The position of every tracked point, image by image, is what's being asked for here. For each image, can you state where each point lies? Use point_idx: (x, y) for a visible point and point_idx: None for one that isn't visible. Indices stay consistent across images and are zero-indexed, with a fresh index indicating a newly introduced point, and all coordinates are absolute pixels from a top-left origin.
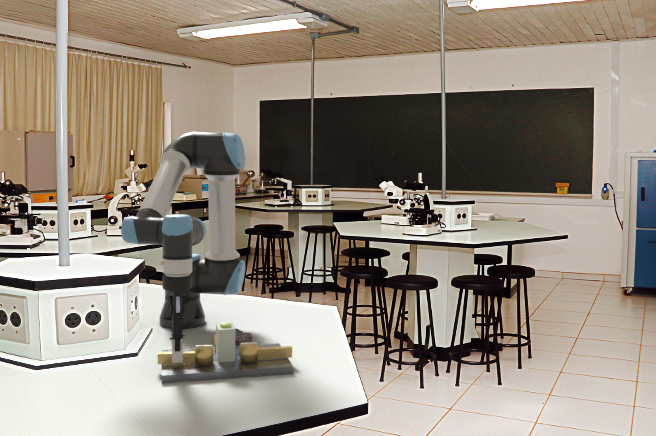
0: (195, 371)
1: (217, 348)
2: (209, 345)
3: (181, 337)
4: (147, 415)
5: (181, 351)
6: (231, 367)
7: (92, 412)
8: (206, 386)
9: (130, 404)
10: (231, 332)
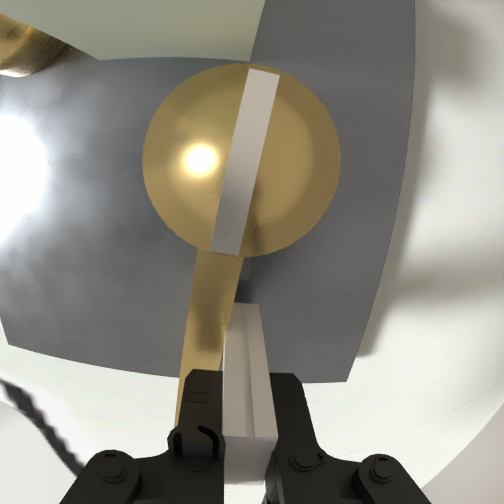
0: (366, 232)
1: (193, 30)
2: (260, 104)
3: (395, 468)
4: (499, 368)
5: (264, 356)
6: (367, 19)
7: (419, 456)
8: (444, 190)
9: (434, 412)
10: None
